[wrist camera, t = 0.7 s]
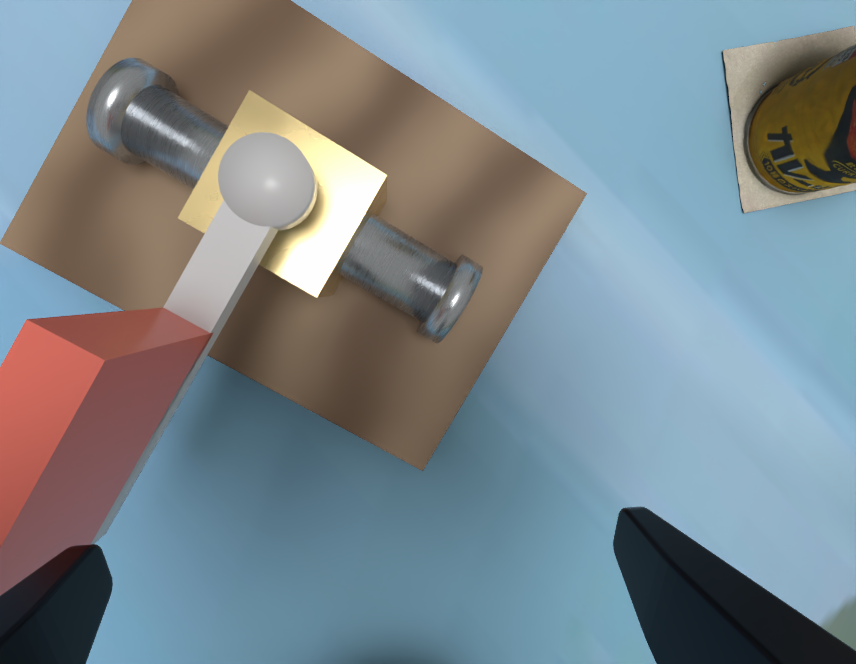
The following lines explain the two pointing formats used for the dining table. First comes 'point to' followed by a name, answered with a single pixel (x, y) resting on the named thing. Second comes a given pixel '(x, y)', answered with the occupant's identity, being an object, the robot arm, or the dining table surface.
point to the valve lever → (128, 368)
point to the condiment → (794, 118)
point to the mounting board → (267, 292)
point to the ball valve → (321, 230)
